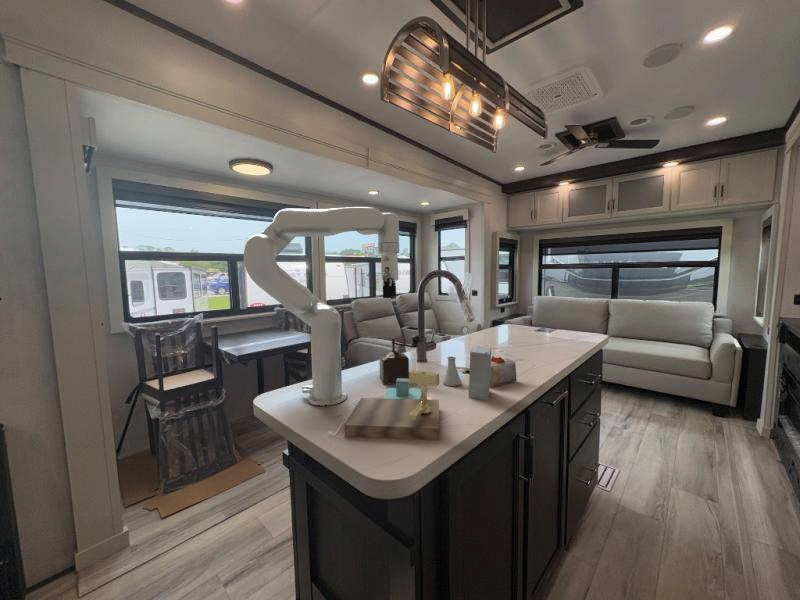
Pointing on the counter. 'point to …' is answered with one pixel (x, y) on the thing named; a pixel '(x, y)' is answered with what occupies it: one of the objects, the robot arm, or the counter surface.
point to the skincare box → (479, 372)
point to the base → (392, 419)
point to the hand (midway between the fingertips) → (389, 297)
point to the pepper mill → (396, 363)
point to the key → (422, 391)
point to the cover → (402, 391)
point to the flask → (451, 373)
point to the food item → (502, 371)
